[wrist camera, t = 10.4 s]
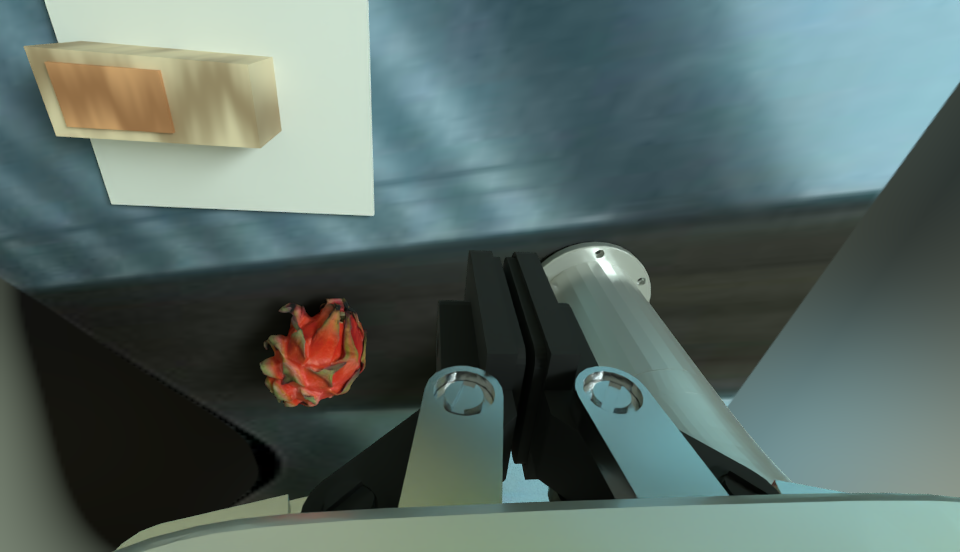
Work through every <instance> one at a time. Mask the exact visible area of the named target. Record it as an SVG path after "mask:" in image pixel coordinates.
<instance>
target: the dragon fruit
mask: <svg viewBox="0 0 960 552" xmlns="http://www.w3.org/2000/svg"><path fill="white" fill-rule="evenodd" d="M344 306H345V308H346V310H347V311H345V312H344ZM321 308H323V309H321ZM319 309H321V311H320V313H319V314H316V315H315V316H313V317H310V316H309V315H308V314H307V313H306V311H305V308H304V306H303V305H302V306H300V305H298V304H295V303H288V304H286V305H285V306H283V307H282V308H280V310H279V312H282V313H287V312H289V313H291V314H292V315H293V317H292V318H291V324H290V329H289V334H288V336H284V335H271V336H270V337H269V338H268V340H266V341H264V347H265V349H266V350H268V348H269V345H271V347H272V349H273V350H274V354H275V356H273V357H270V358H267V359H265V360H264V361H262V362H260V368H261V370H262V372H263V373H264V374H265V375H267V377H266V379H265V385H266V386H267V387H268V388H269V389H270V392H271V393H272V394H273V395H275V398H277V400H278V402H281V400H283V403H284V404H285V407H294V406H296V405H298V404H299V403H300V404H302V405H304V406H307V407H312V406H315V405H317V404H318V402H319V401H320V400H321V399H324V398H331V397H332V396H333V395H340V394H344V393H347V392H348V391H349V389H350V386H351V384H352V383H353V381H354V380H355V379H356V378H357V377H358V375H359V374H360V373H361V372H362V371H363V370H364V368H365V355H366V353H365V351H366V341H367V332H366V330H364V331H363V328H362V326H361V323H360V321H359V320H358V315H357V313H356V311H355V310H354V309H353V308H351V307H350V306H349V304H348V302H347V301H346V300H345V299H344V298H343V299H341V298H340V299H339V298H338V299H336V298H335V299H325V303H324V304H322V305H321V306H320V308H319Z"/></svg>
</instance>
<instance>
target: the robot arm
mask: <svg viewBox="0 0 960 552" xmlns="http://www.w3.org/2000/svg"><path fill="white" fill-rule="evenodd" d="M596 251H597V252H596ZM650 296H651V284H650V280H649V276H648V274H647V272H646V270H645V268H644V266H643V265H642V264H641V263H640V261H639V260H638V259H637V258H636V257H635V256H634V255H633V254H631V253H630V252H629V251H627V250H626V249H624V248H622V247H620V246H617V245H614V244H610V243H604V242H587V243H580V244H576V245H573V246H569V247H567V248H565V249H562V250H560V251H558V252H556V253H555V254H553V255H552V256H550V257H549V258H547V259H546V260H545V261H544V262H542V263H541V262H540V260H539V258H538V255H537V254H536V253H530V252H514V253H513V255H512V257H506V258H505V260H504V267H502V263H501V260H500V257H493V254H492V251H474V250H469V254H468V265H467V276H466V288H465V300H464V301H449V300H439V301H438V313H437V335H436V373H435V374H434V375H433V376H432V377H431V378H430V379H429V380H428V383H427V385H426V387H425V390H424V395H423V399H422V404H421V408H420V409H419V410H418V411H417V412H415V413H414V414H413V415H411V416H410V417H409V418H407V419H406V420H405V421H403V422H402V423H400V424H399V425H398V426H396V427H395V428H394V429H392V430H391V431H390V432H388V433H387V434H386V435H384V436H383V437H382V438H380V439H379V440H378V441H376V442H375V443H373V444H372V445H371V446H369V447H368V448H367V449H365V450H364V451H363V452H361V453H360V454H359V455H357V456H356V457H355V458H353V459H352V460H351V461H349V462H348V463H346V464H345V465H344V466H342V467H341V468H340V469H338V470H337V471H336V472H334V473H333V474H332V475H330V476H329V477H328V478H326V479H325V480H324V481H322V482H321V483H320V484H319V485H318V486H317V487H316V488H315V489H314V490H313V491H312V492H311V493H310V494H309V496H308V497H303V498H299V499H295V500H291V501H289V497H288V494H287V495H283V496H279V497H274V498H270V499H266V500H261V501H257V502H253V503H248V504H244V505H240V506H235V507H231V508H227V509H223V510H218V511H214V512H210V513H205V514H201V515H197V516H193V517H188V518H184V519H179V520H176V521H171V522H167V523H162V524H159V525H156V526H153V527H151V528H148V529H145V530H143V531H140V532H139V533H138V534H136V535H134V536H133V537H131V538H130V539H129V540H127V541H125V542H124V543H123V544H121V545H120V546H119V548H117V550H116V551H113V552H960V498H959V497H950V496H941V495H931V494H901V493H846V492H841V491H835V490H829V489H824V488H818V487H813V486H807V485H802V484H796V483H793V482H792V481H791V480H790V479H789V478H788V477H787V476H786V475H785V474H784V473H783V472H782V471H781V470H780V469H779V468H778V467H777V466H776V465H775V464H774V463H773V462H772V460H771V459H770V458H769V457H768V456H767V455H766V454H765V453H764V452H763V451H762V449H761V448H760V447H759V446H758V445H757V444H756V442H755V441H754V440H753V439H752V438H751V436H750V435H749V434H748V433H747V432H746V431H745V429H744V428H743V427H742V426H741V424H740V423H739V422H738V420H737V419H736V418H735V417H734V415H733V414H732V413H731V412H730V410H729V409H728V408H727V406H726V405H725V404H724V402H723V401H722V400H721V398H720V397H719V396H718V394H717V393H716V392H715V390H714V389H713V388H712V386H711V385H710V384H709V383H708V381H707V380H706V379H705V377H704V376H703V375H702V373H701V372H700V371H699V369H698V368H697V367H696V365H695V364H694V363H693V361H692V360H691V359H690V357H689V356H688V354H687V353H686V352H685V350H684V349H683V348H682V346H681V345H680V344H679V342H678V341H677V340H676V338H675V337H674V336H673V334H672V333H671V332H670V330H669V329H668V328H667V326H666V325H665V324H664V322H663V321H662V320H661V318H660V317H659V316H658V314H657V313H656V312H655V310H654V309H653V308H652V306H651V305H650V304H649V301H650ZM511 451H512V457H513V461H514V463H515V464H522V467H523V472H524V477H525V480H528V479H539V480H540V481H542V482H543V483H544V484H546V485H547V486H548V497H549V502H527V503H502V482H503V481H504V480H505V479H506V475H507V469H508V463H509V458H510V452H511Z"/></svg>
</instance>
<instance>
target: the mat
mask: <svg viewBox="0 0 960 552" xmlns="http://www.w3.org/2000/svg"><path fill="white" fill-rule="evenodd" d="M44 1H45V4H46V7H47V10H48V13H49V16H50V19H51V22H52V25H53V28H54V31H55V34H56V37H57V40H58V43H64V42H75V41H89V42H101V43H113V44H125V45H136V46H148V47H160V48H172V49H184V50H195V51H207V52H219V53H231V54H243V55H255V56H266V57H273V64H274V72H275V80H276V88H277V97H278V105H279V113H280V121H281V129H282V131H281V132H280V133H279V134H277V135H276V136H275V137H274V138H273V139H271V140H270V141H269V142H268V143H266V144H265V145H264V146H263V147H262V148H244V147H228V146H211V145H194V144H178V143H161V142H145V141H128V140H112V139H95V138H90V140H91V143H92V146H93V149H94V152H95V156H96V159H97V162H98V165H99V168H100V171H101V174H102V177H103V180H104V183H105V186H106V189H107V192H108V195H109V198H110V201H111V204H116V205H139V206H161V207H184V208H207V209H229V210H252V211H275V212H297V213H320V214H343V215H365V216H374V178H373V143H372V108H371V72H370V37H369V2H368V0H44Z"/></svg>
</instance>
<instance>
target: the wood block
mask: <svg viewBox="0 0 960 552" xmlns="http://www.w3.org/2000/svg"><path fill="white" fill-rule="evenodd" d="M24 49H25V51H26V54H27V57H28V60H29V62H30V65H31V68H32V71H33V73H34V76H35V79H36V82H37V84H38V87H39V90H40V93H41V95H42V98H43V101H44V104H45V106H46V109H47V112H48V114H49V117H50V120H51V123H52V125H53V128H54V131H55V134H56V136H62V137H79V138H95V139H112V140H128V141H145V142H161V143H178V144H194V145H211V146H228V147H244V148H262V147H263V146H264V145H265V144H266V143H268V142H269V141H270V140H271V139H273V138H274V137H275V136H276V135H277V134H279V133H280V132H281V131H282V129H281V121H280V113H279V105H278V97H277V88H276V80H275V72H274V64H273V57H266V56H255V55H243V54H231V53H219V52H207V51H195V50H184V49H172V48H160V47H148V46H136V45H125V44H113V43H101V42H89V41H75V42H64V43H53V44H42V45H31V46H24Z"/></svg>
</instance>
